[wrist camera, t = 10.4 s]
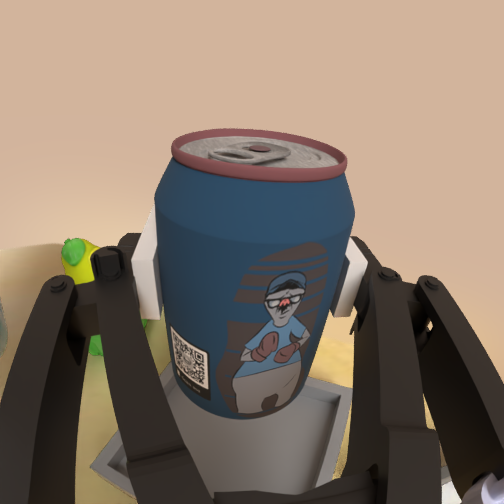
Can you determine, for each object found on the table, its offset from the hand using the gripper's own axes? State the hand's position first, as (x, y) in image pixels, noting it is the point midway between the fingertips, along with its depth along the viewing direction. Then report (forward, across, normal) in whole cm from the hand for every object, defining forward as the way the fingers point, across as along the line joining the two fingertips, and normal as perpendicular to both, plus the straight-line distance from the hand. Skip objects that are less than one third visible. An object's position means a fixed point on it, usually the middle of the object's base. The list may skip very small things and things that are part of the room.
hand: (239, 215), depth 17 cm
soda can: (-5, 0, -7) cm, 9 cm away
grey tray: (-5, 0, -18) cm, 19 cm away
